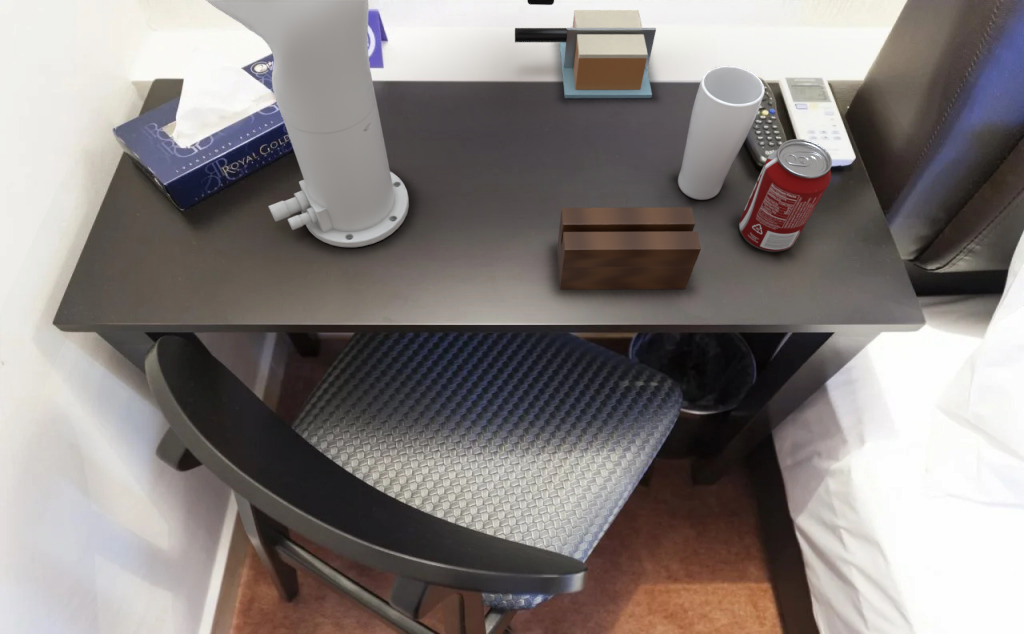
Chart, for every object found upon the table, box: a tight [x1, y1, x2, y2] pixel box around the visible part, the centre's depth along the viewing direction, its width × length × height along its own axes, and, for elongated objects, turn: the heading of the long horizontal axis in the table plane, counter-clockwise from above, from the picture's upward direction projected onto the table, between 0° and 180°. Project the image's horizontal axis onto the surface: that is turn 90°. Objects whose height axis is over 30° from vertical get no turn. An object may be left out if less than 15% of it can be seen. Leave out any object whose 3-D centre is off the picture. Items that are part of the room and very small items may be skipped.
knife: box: [514, 27, 657, 69], centre depth 92 cm, size 19×2×6 cm, turn 91°
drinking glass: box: [677, 65, 766, 201], centre depth 76 cm, size 7×7×15 cm
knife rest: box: [556, 206, 702, 291], centre depth 72 cm, size 14×6×7 cm, turn 91°
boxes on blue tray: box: [559, 9, 653, 99], centre depth 92 cm, size 12×12×6 cm
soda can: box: [738, 138, 833, 253], centre depth 73 cm, size 7×7×12 cm
